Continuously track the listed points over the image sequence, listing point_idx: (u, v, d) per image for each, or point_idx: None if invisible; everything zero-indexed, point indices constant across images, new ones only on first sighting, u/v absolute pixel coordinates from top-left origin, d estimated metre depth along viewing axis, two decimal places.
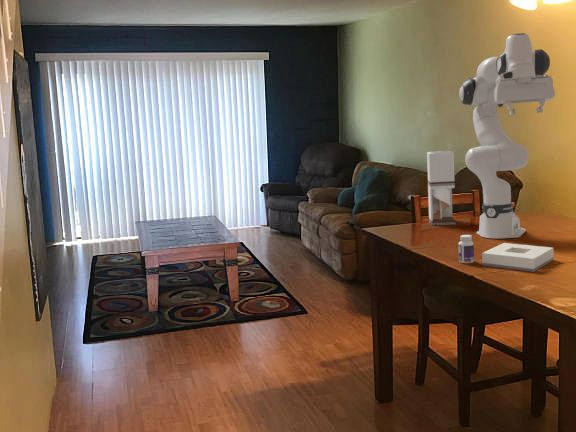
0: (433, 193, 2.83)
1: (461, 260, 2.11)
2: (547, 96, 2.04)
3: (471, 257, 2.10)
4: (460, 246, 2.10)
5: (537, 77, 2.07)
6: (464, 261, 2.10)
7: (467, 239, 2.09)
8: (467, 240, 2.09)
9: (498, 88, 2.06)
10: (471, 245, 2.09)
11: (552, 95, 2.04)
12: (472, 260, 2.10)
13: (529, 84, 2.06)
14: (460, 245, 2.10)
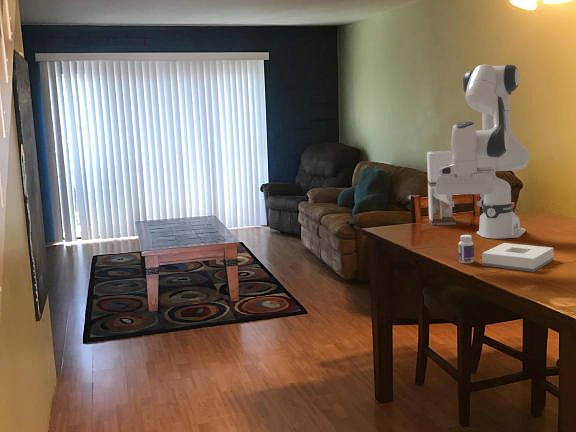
0: (433, 193, 2.83)
1: (461, 260, 2.11)
2: (485, 192, 2.04)
3: (471, 257, 2.10)
4: (460, 246, 2.10)
5: (479, 170, 2.04)
6: (464, 261, 2.10)
7: (467, 239, 2.09)
8: (467, 240, 2.09)
9: (437, 182, 2.09)
10: (471, 245, 2.09)
11: (491, 192, 2.03)
12: (472, 260, 2.10)
13: (469, 179, 2.05)
14: (460, 245, 2.10)
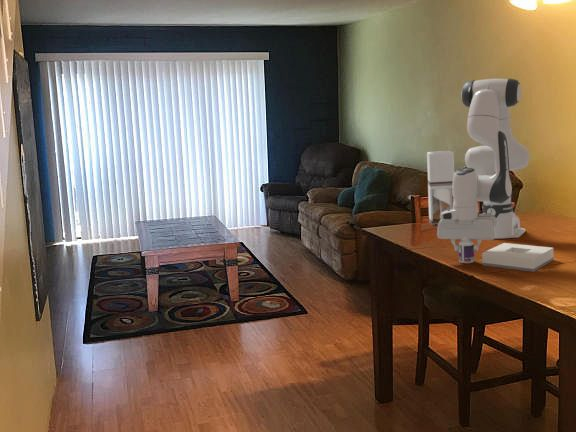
0: (433, 193, 2.83)
1: (461, 260, 2.11)
2: (486, 238, 2.06)
3: (471, 257, 2.10)
4: (460, 246, 2.10)
5: (480, 216, 2.07)
6: (464, 261, 2.10)
7: (467, 239, 2.09)
8: (467, 240, 2.09)
9: (438, 226, 2.12)
10: (471, 245, 2.09)
11: (491, 238, 2.06)
12: (472, 260, 2.10)
13: (469, 224, 2.08)
14: (460, 245, 2.10)
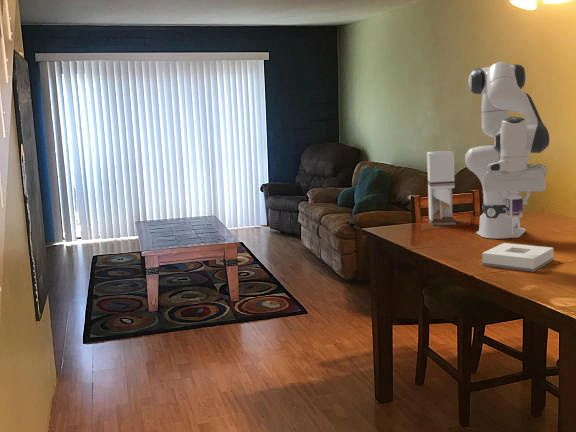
0: (433, 193, 2.83)
1: (509, 214, 2.02)
2: (536, 190, 1.98)
3: (520, 211, 2.01)
4: (508, 200, 2.02)
5: (530, 167, 1.99)
6: (512, 215, 2.02)
7: (516, 192, 2.01)
8: (516, 193, 2.01)
9: (485, 179, 2.04)
10: (520, 198, 2.00)
11: (542, 189, 1.97)
12: (521, 214, 2.01)
13: (519, 175, 1.99)
14: (508, 199, 2.02)
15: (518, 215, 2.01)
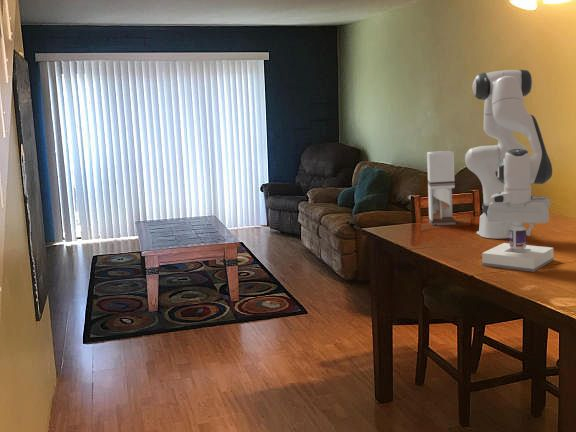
0: (433, 193, 2.83)
1: (513, 245, 2.04)
2: (540, 221, 1.99)
3: (523, 242, 2.03)
4: (512, 231, 2.03)
5: (533, 199, 2.00)
6: (516, 247, 2.03)
7: (519, 224, 2.02)
8: (519, 225, 2.02)
9: (488, 210, 2.05)
10: (523, 230, 2.02)
11: (545, 221, 1.99)
12: (524, 245, 2.03)
13: (522, 207, 2.01)
14: (512, 230, 2.03)
15: (522, 246, 2.03)
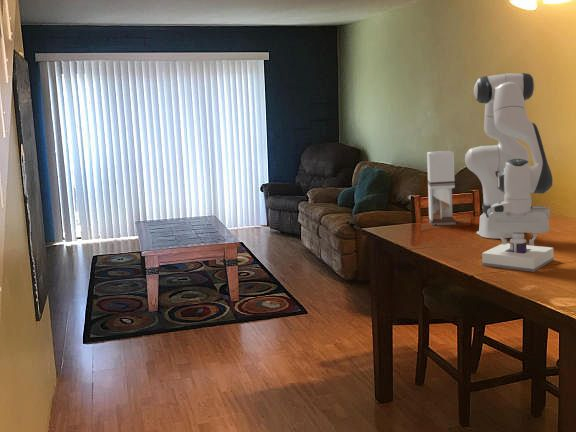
0: (433, 193, 2.83)
1: None
2: (540, 231, 2.00)
3: None
4: (512, 244, 2.04)
5: (533, 208, 2.01)
6: None
7: (520, 236, 2.03)
8: (520, 237, 2.03)
9: (489, 220, 2.06)
10: (524, 242, 2.03)
11: (545, 231, 1.99)
12: None
13: (522, 217, 2.01)
14: (512, 243, 2.04)
15: None
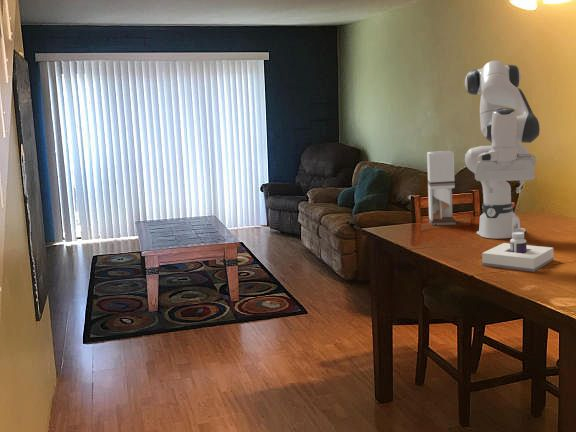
0: (433, 193, 2.83)
1: None
2: (526, 179, 2.05)
3: None
4: (512, 244, 2.04)
5: (519, 157, 2.05)
6: None
7: (520, 236, 2.03)
8: (520, 237, 2.03)
9: (476, 168, 2.10)
10: (524, 243, 2.03)
11: (531, 178, 2.04)
12: None
13: (509, 165, 2.06)
14: (512, 243, 2.04)
15: None
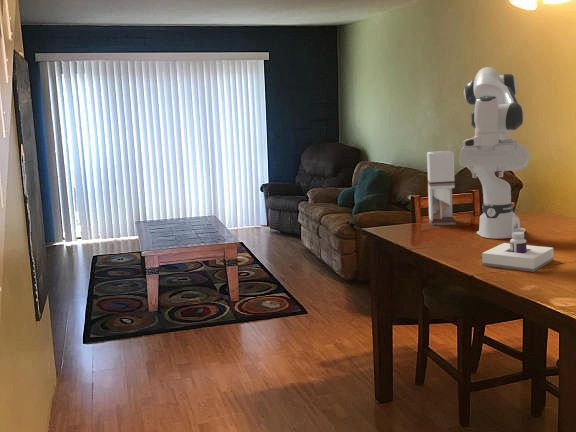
0: (433, 193, 2.83)
1: None
2: (507, 163, 2.13)
3: None
4: (512, 244, 2.04)
5: (501, 142, 2.14)
6: None
7: (520, 236, 2.03)
8: (520, 237, 2.03)
9: (460, 154, 2.19)
10: (524, 243, 2.03)
11: (512, 162, 2.12)
12: None
13: (491, 150, 2.14)
14: (512, 243, 2.04)
15: None
